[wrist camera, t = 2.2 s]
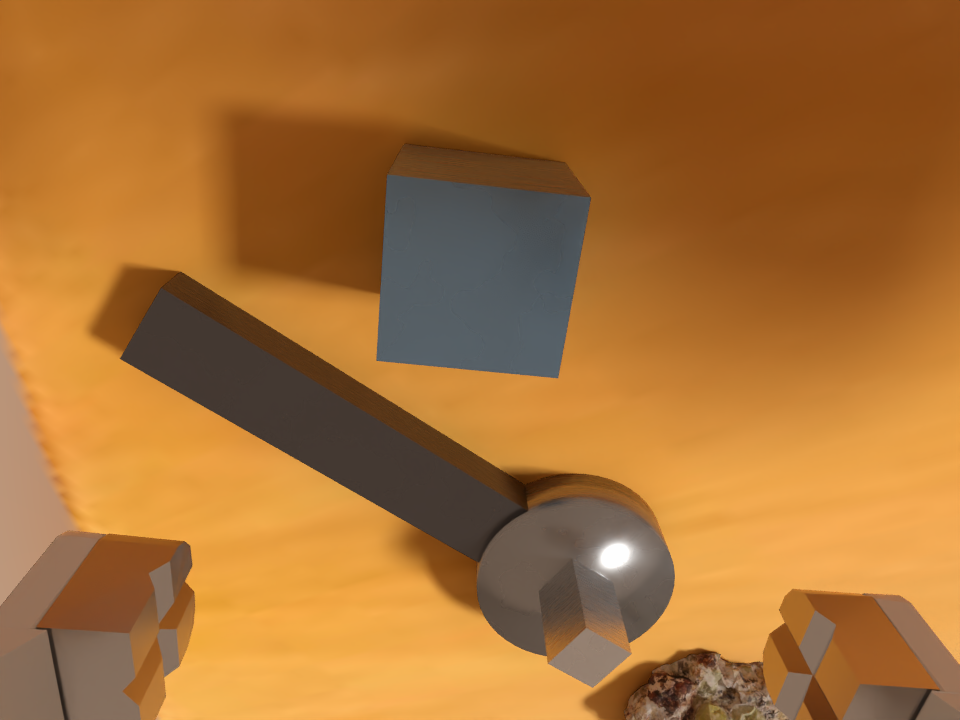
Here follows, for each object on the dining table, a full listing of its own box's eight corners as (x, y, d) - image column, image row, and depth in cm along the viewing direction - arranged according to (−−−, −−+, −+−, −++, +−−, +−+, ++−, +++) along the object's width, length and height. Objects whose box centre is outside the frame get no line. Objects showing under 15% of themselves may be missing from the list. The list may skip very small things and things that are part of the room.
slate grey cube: (565, 162, 26) (590, 197, 21) (540, 311, 29) (557, 378, 23) (404, 143, 26) (387, 174, 20) (394, 296, 28) (376, 360, 23)
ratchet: (114, 384, 30) (27, 472, 24) (213, 216, 27) (141, 269, 21) (579, 643, 37) (600, 760, 31) (699, 533, 34) (748, 639, 28)
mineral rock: (637, 801, 39) (630, 748, 34) (617, 720, 42) (609, 661, 37) (827, 766, 39) (851, 707, 33) (792, 687, 42) (809, 622, 37)
